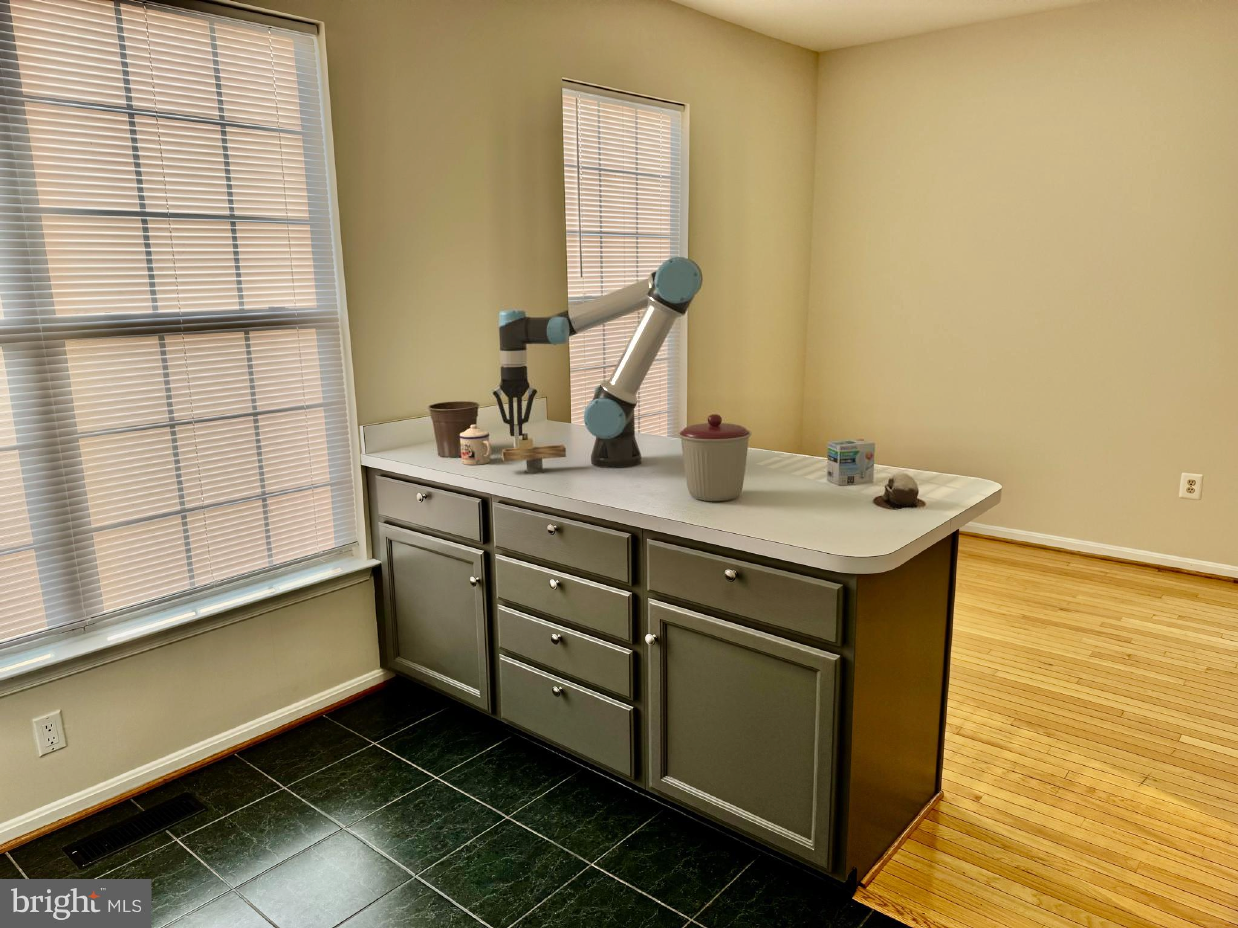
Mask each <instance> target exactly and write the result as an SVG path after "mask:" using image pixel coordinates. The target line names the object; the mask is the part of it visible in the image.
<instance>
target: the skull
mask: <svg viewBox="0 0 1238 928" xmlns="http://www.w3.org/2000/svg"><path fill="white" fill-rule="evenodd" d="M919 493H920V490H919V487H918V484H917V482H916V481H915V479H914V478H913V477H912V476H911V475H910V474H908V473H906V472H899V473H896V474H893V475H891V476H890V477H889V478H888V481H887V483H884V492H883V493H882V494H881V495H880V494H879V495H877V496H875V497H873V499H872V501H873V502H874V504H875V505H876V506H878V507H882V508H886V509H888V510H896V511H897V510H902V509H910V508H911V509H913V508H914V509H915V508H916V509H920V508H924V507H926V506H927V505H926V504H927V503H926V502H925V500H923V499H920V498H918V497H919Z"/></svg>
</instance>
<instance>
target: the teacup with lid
mask: <svg viewBox="0 0 1238 928" xmlns="http://www.w3.org/2000/svg"><path fill="white" fill-rule="evenodd" d="M470 427H471V428H470V429H467V430H466V431H465V432H462V433H460V436H459V437H460V442H461V456H460V458H461V463H462V464H463V465H464V466H465V465H466V466H480V465H485V464H486V465H487V464H489V463H490V462H491V455H492V444H491V442H490V432H488V430H483V429H481V428H479V427H478V425H471V426H470Z"/></svg>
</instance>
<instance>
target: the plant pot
mask: <svg viewBox="0 0 1238 928" xmlns="http://www.w3.org/2000/svg"><path fill="white" fill-rule="evenodd" d="M479 407H480V403H479V402H477V401H471V400H469V401H468V400H467V401H465V400H464V401H463V400H461V401H460V400H459V401H458V400H457V401H444V402H436V403H433V404H429V405H428V406H427V409H428V410H429V415H430V419H431V420H432V426H433V432H434V438H435V439H434V440H435V444H436V450H437V455H438V456H439V457H440V458H445V457H450V458H449V459H452V458H451V457H459V458H461V442H460V437H459V436H460V433H462V432H465V431H466V430H467V429H470V428H471V427H470V426H471V425H477V421H478V416H479ZM477 426H478V425H477Z"/></svg>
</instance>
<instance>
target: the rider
mask: <svg viewBox="0 0 1238 928" xmlns="http://www.w3.org/2000/svg"><path fill="white" fill-rule="evenodd" d="M533 447H534V441H533V438H532V437H529V433H526V432H522V436H521V438H519V448H518V451H521V450H533Z"/></svg>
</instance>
